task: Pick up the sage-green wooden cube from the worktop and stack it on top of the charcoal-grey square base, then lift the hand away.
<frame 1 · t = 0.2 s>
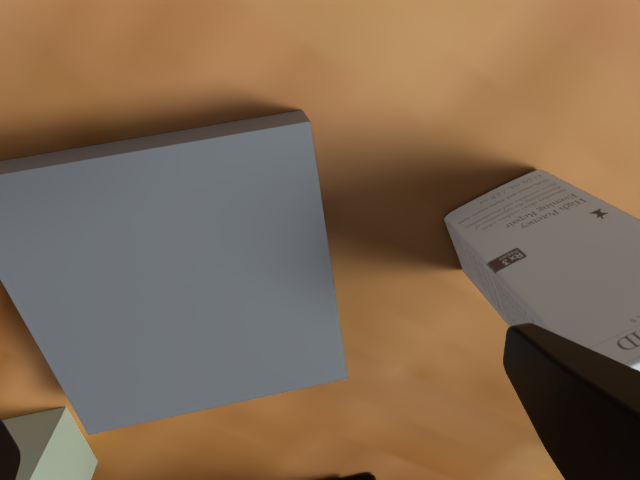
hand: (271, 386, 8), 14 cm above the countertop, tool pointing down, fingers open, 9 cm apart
base: (192, 267, 22), on the countertop
skincare box: (495, 223, 24), on the countertop
green cube: (41, 442, 26), on the countertop
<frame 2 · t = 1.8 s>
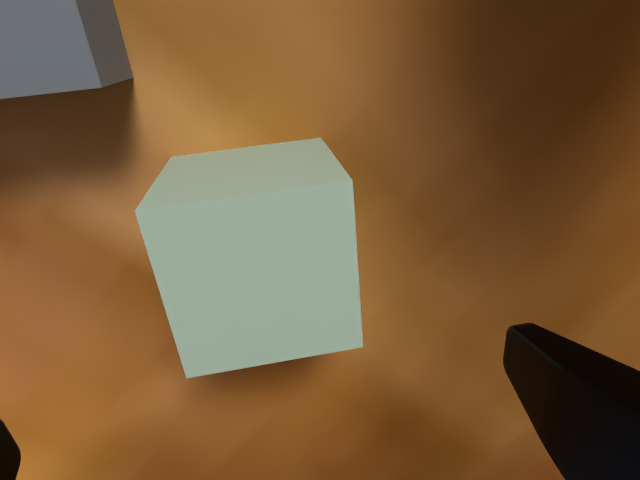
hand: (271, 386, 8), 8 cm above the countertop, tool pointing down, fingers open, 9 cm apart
green cube: (259, 215, 15), on the countertop
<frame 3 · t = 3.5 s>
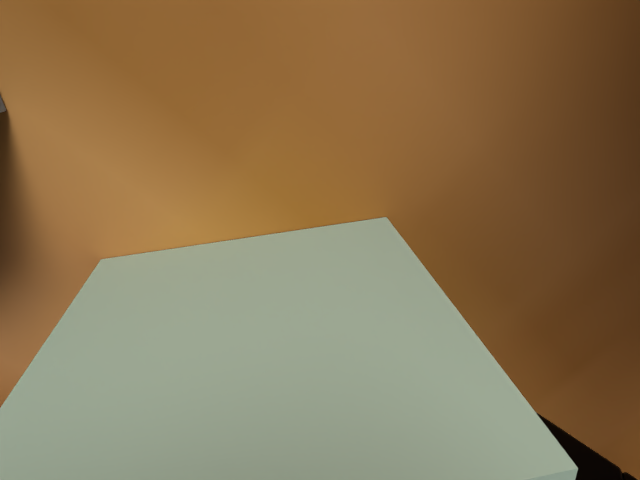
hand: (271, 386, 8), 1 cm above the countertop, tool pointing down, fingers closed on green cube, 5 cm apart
green cube: (269, 348, 9), on the countertop, touching gripper
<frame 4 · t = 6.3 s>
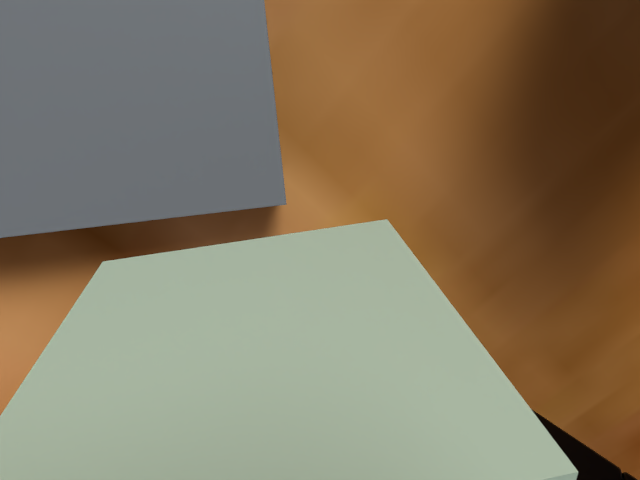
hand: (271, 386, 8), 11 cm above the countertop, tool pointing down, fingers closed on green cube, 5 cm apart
green cube: (270, 350, 9), point 10 cm above the countertop, touching gripper
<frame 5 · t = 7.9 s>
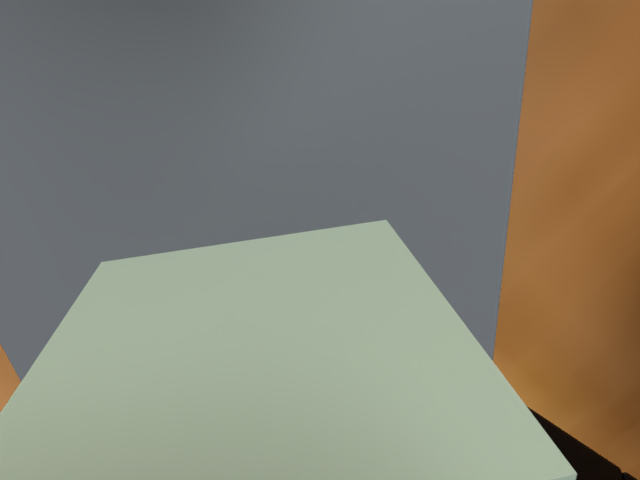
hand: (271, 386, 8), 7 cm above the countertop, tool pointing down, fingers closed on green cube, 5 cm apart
base: (258, 227, 14), on the countertop
green cube: (269, 350, 9), point 6 cm above the countertop, touching gripper
when the fingers open (5 cm above the countertop, at t = 9.2 s): green cube stays where it is, resting on base.
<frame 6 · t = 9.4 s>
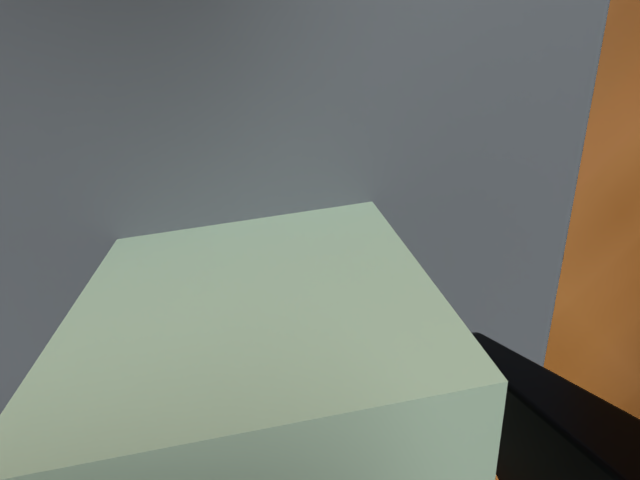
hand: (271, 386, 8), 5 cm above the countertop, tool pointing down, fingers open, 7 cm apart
base: (262, 257, 12), on the countertop
green cube: (267, 322, 9), point 3 cm above the countertop, touching base
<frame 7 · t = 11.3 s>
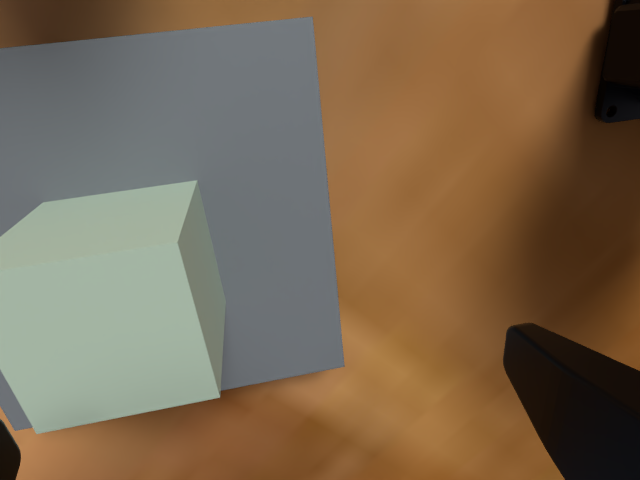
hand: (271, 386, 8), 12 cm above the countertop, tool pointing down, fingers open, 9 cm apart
base: (156, 223, 18), on the countertop
green cube: (142, 256, 15), point 3 cm above the countertop, touching base
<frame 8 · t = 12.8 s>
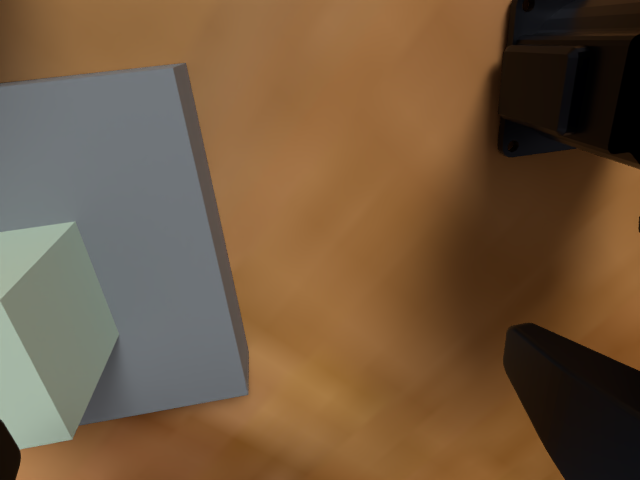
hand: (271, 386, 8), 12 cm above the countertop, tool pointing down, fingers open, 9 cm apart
base: (60, 254, 18), on the countertop
green cube: (29, 292, 16), point 3 cm above the countertop, touching base
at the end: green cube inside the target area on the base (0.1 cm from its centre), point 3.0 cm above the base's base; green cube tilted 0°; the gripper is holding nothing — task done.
